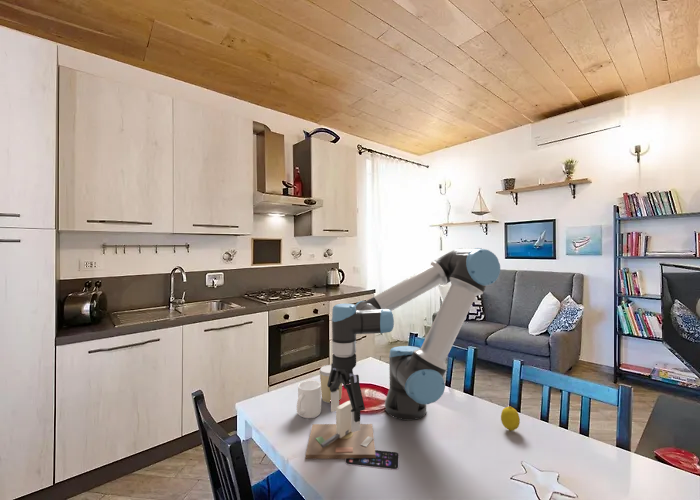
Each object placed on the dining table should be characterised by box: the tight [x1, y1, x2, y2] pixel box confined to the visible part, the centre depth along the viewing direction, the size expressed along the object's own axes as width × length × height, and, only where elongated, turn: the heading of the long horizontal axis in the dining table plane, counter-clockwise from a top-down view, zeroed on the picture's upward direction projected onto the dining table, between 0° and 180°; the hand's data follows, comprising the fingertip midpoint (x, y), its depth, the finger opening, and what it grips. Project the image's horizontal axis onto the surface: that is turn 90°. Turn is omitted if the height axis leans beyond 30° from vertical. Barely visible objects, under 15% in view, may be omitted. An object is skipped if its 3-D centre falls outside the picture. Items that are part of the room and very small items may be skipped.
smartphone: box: [344, 449, 400, 471], centre depth 95 cm, size 8×1×15 cm
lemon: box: [500, 405, 521, 432], centre depth 108 cm, size 6×6×8 cm
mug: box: [296, 380, 322, 419], centre depth 118 cm, size 12×8×10 cm
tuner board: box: [305, 423, 376, 460], centre depth 102 cm, size 20×16×1 cm
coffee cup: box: [319, 364, 343, 404], centre depth 131 cm, size 9×9×12 cm
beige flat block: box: [321, 400, 352, 447], centre depth 102 cm, size 2×13×9 cm, turn 139°
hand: (344, 420), depth 104 cm, fingers open, 13 cm apart
